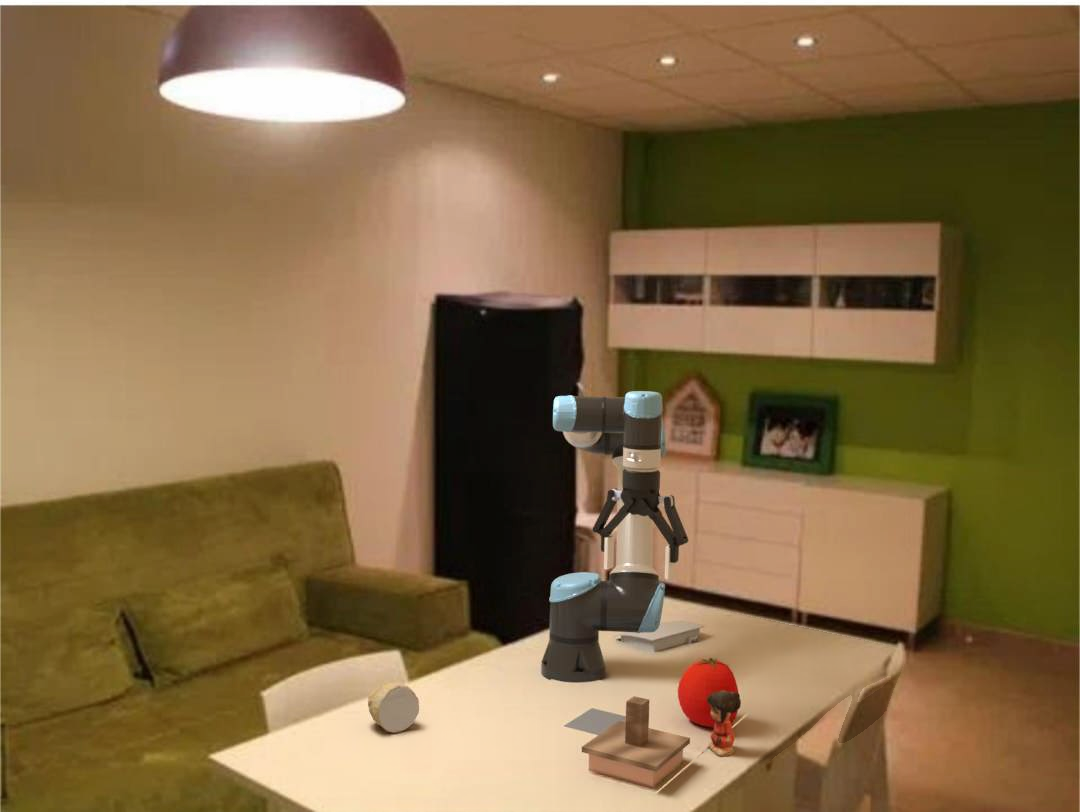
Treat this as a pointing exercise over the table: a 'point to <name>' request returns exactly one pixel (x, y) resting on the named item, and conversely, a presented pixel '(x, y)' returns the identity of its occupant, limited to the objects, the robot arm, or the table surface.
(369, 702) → the cream grey rounded piece
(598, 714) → the mat
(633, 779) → the dish
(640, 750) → the lid
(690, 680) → the tomato
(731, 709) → the figurine
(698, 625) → the book
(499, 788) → the table surface
